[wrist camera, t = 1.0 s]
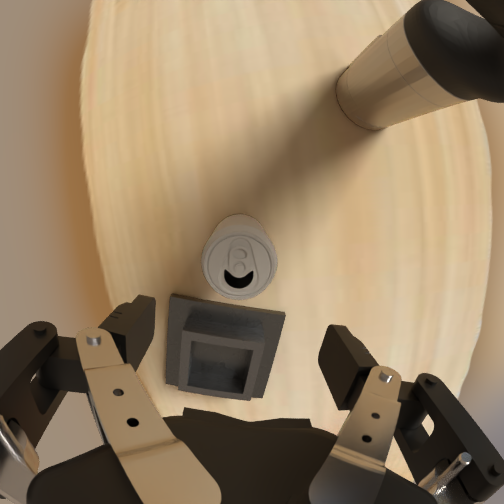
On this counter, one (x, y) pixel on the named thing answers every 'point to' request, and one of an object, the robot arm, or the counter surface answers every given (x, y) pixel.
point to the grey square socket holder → (220, 347)
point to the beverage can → (239, 258)
